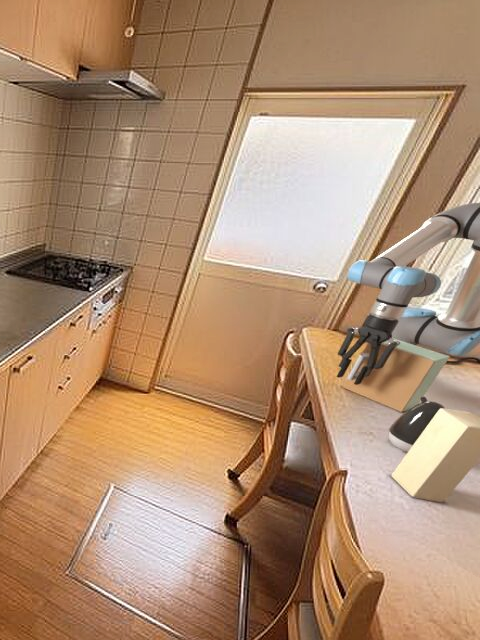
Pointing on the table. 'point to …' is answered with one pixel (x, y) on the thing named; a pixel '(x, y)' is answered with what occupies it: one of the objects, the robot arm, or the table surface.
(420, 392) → the box
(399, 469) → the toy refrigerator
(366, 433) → the table surface
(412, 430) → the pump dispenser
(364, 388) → the cooler door
